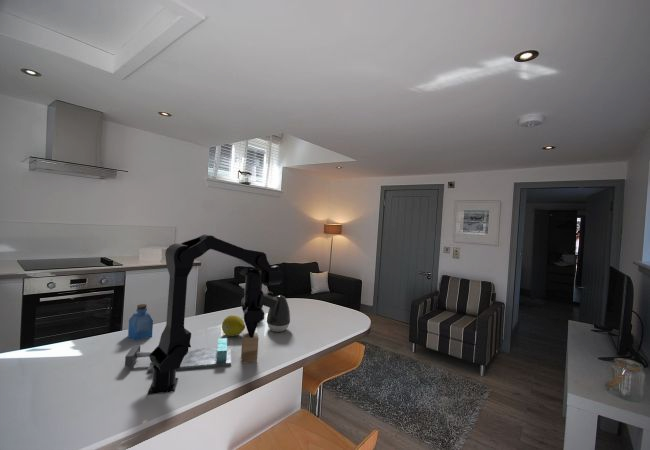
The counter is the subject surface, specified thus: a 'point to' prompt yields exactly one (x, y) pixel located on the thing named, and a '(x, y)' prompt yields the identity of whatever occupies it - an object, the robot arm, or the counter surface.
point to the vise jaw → (135, 355)
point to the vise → (205, 357)
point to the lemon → (233, 325)
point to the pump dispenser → (279, 315)
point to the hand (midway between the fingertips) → (250, 332)
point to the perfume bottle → (140, 324)
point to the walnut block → (249, 347)
